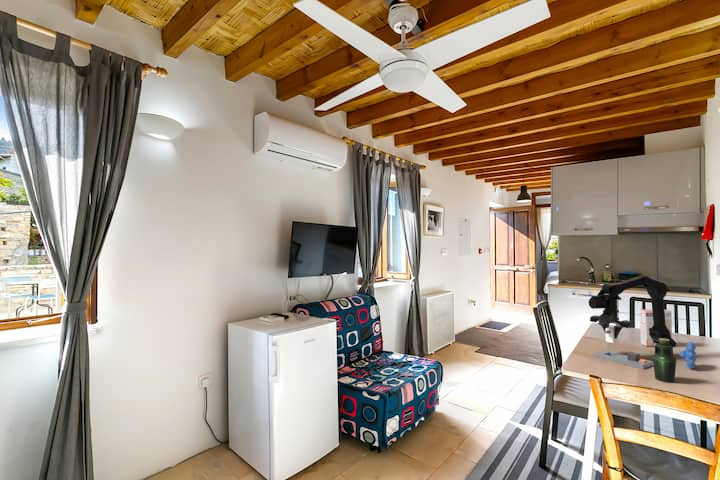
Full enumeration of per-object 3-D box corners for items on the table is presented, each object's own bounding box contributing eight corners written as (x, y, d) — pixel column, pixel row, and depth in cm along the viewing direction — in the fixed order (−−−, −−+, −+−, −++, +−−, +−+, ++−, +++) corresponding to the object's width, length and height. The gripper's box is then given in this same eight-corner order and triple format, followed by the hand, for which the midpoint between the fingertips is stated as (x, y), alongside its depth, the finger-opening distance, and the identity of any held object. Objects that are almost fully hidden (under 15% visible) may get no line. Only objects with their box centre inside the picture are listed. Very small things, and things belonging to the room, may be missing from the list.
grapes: (680, 362, 180) (679, 338, 180) (698, 365, 175) (698, 341, 175) (678, 368, 172) (677, 343, 172) (697, 372, 167) (697, 346, 167)
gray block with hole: (652, 365, 177) (652, 355, 177) (643, 369, 172) (642, 358, 172) (604, 353, 196) (604, 344, 196) (594, 356, 191) (594, 347, 191)
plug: (617, 341, 188) (617, 328, 188) (611, 343, 185) (610, 330, 185) (610, 340, 191) (609, 327, 191) (603, 342, 188) (603, 328, 188)
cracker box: (665, 344, 211) (664, 308, 211) (672, 347, 205) (672, 310, 205) (639, 344, 212) (639, 308, 212) (646, 347, 206) (646, 310, 206)
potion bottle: (665, 376, 163) (664, 336, 163) (682, 383, 155) (681, 341, 155) (648, 376, 163) (647, 337, 163) (663, 383, 155) (663, 342, 155)
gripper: (583, 307, 192) (584, 336, 192) (623, 312, 176) (623, 344, 176) (595, 304, 198) (595, 333, 198) (634, 310, 182) (634, 341, 182)
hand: (611, 337), depth 188 cm, fingers closed on plug, 3 cm apart
